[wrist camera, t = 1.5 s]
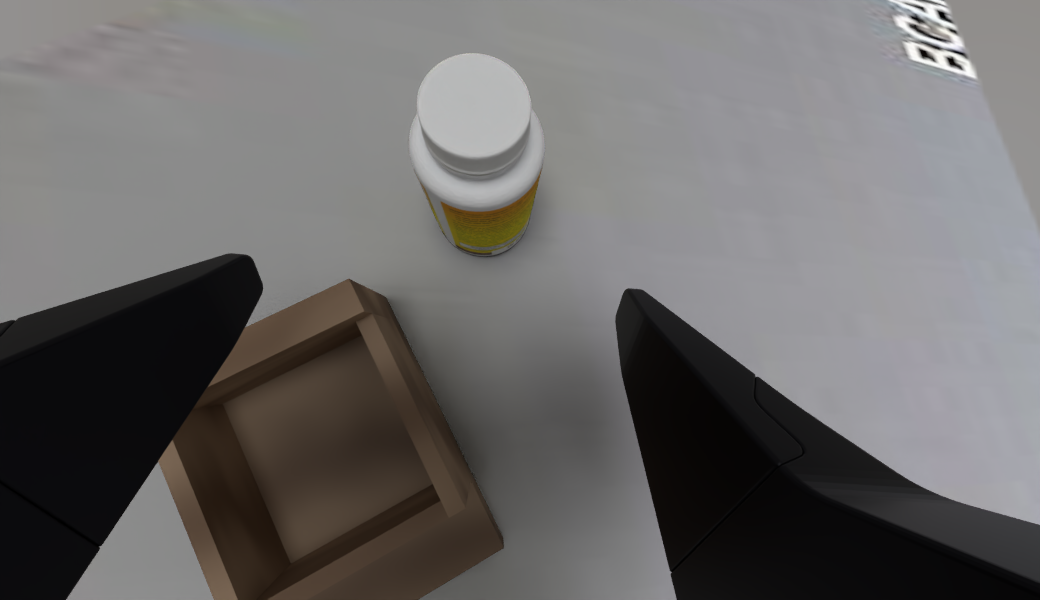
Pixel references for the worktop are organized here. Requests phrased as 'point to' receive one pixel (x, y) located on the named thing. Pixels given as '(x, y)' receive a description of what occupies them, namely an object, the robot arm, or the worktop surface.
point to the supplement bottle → (477, 151)
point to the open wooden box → (326, 463)
